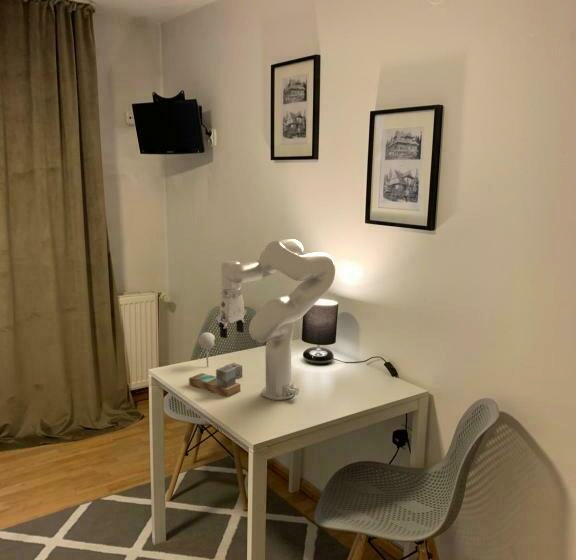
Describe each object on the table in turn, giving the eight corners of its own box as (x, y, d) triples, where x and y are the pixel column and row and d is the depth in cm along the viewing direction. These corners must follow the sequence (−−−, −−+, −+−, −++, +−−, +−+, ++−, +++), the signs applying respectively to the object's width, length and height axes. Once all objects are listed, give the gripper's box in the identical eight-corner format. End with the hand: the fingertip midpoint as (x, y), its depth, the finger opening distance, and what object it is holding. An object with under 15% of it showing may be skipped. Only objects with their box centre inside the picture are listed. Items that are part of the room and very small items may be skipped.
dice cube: (232, 380, 223) (232, 368, 222) (224, 377, 226) (224, 365, 226) (242, 377, 227) (242, 365, 226) (234, 374, 230) (234, 362, 229)
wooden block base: (240, 391, 212) (240, 368, 210) (228, 397, 206) (227, 374, 205) (202, 380, 224) (201, 358, 222) (189, 385, 218) (188, 363, 216)
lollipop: (214, 369, 235) (213, 335, 232) (197, 369, 235) (196, 335, 232) (217, 363, 242) (216, 330, 239) (200, 363, 242) (199, 330, 239)
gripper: (223, 297, 211) (224, 341, 214) (252, 289, 225) (253, 331, 228) (208, 295, 215) (209, 338, 219) (238, 287, 229) (239, 328, 232)
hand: (232, 334), depth 223 cm, fingers open, 9 cm apart
